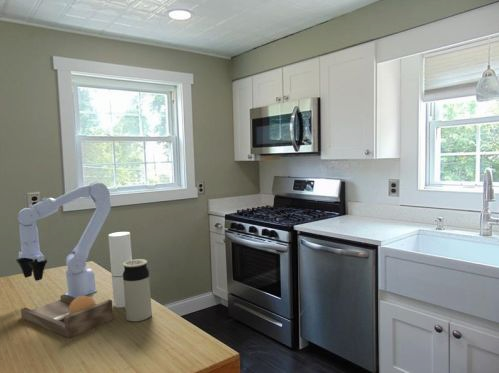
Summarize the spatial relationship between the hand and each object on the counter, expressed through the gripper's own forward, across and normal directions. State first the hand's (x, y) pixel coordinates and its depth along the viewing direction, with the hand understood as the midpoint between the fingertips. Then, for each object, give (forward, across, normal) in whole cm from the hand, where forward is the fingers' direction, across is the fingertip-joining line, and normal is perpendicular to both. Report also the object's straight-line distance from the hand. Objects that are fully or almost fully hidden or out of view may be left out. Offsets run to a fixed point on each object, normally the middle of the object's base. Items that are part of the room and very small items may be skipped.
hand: (33, 278), depth 138 cm
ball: (+5, +31, 0) cm, 31 cm away
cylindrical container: (+10, +30, +16) cm, 35 cm away
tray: (+9, +23, -1) cm, 25 cm away
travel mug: (+10, +44, +11) cm, 46 cm away
